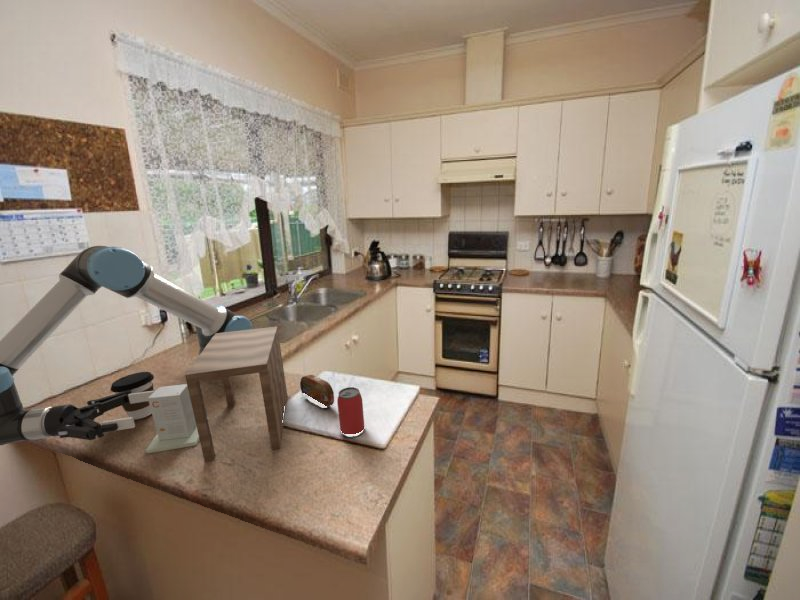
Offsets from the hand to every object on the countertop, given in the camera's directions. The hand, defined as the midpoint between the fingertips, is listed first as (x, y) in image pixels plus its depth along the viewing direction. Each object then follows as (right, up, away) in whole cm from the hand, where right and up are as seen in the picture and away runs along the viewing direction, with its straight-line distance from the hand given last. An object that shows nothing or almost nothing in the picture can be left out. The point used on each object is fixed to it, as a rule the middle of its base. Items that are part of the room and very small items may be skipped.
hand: (145, 407), depth 99 cm
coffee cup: (-11, -7, +15) cm, 20 cm away
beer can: (+55, -7, +2) cm, 56 cm away
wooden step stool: (+25, -7, +8) cm, 28 cm away
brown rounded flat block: (+43, -4, +17) cm, 46 cm away
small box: (+7, -8, +4) cm, 11 cm away
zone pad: (+7, -9, +4) cm, 12 cm away
